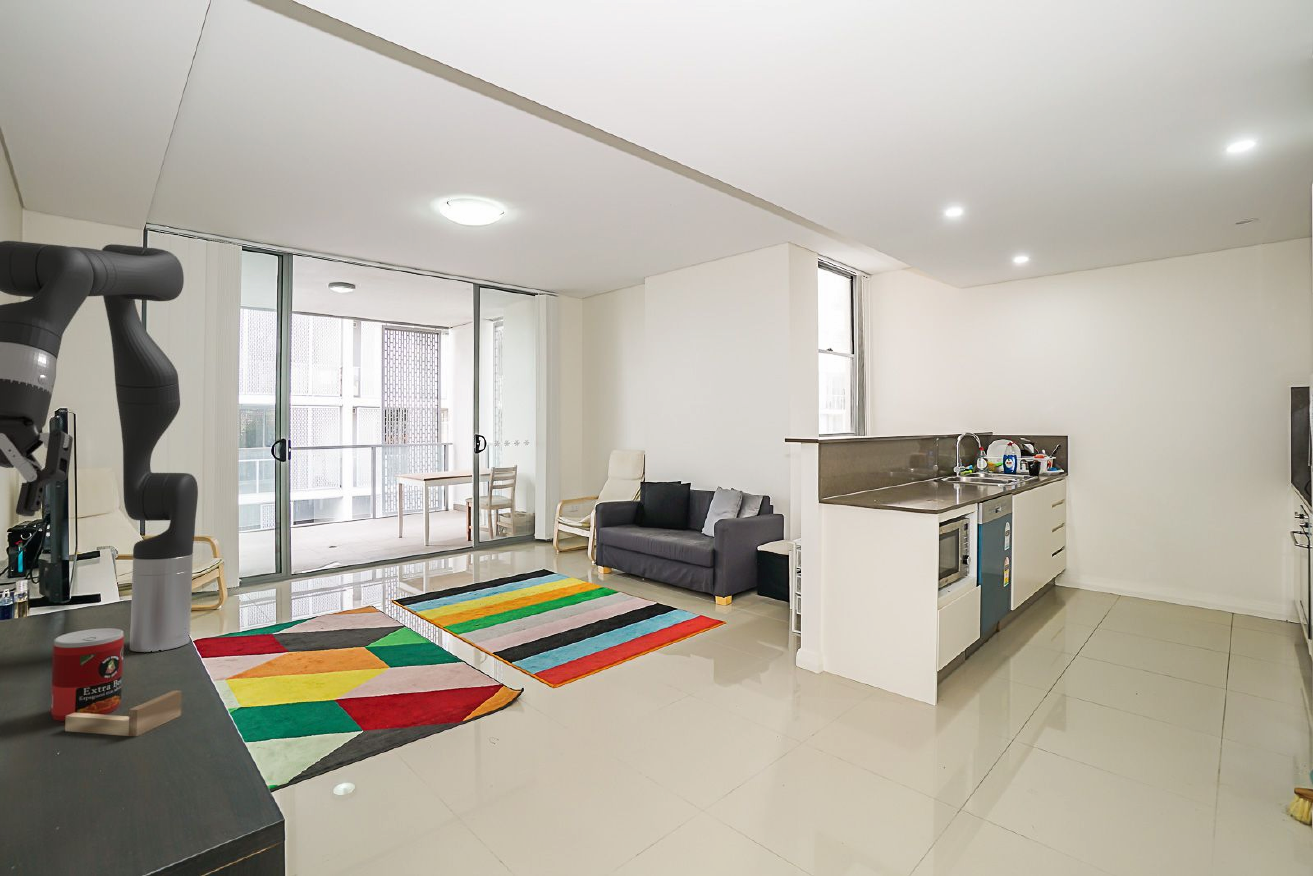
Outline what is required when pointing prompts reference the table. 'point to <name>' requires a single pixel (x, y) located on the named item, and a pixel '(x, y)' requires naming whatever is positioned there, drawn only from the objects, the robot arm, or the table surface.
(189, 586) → the robot arm
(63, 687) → the canned food
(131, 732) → the bar
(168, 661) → the table surface
